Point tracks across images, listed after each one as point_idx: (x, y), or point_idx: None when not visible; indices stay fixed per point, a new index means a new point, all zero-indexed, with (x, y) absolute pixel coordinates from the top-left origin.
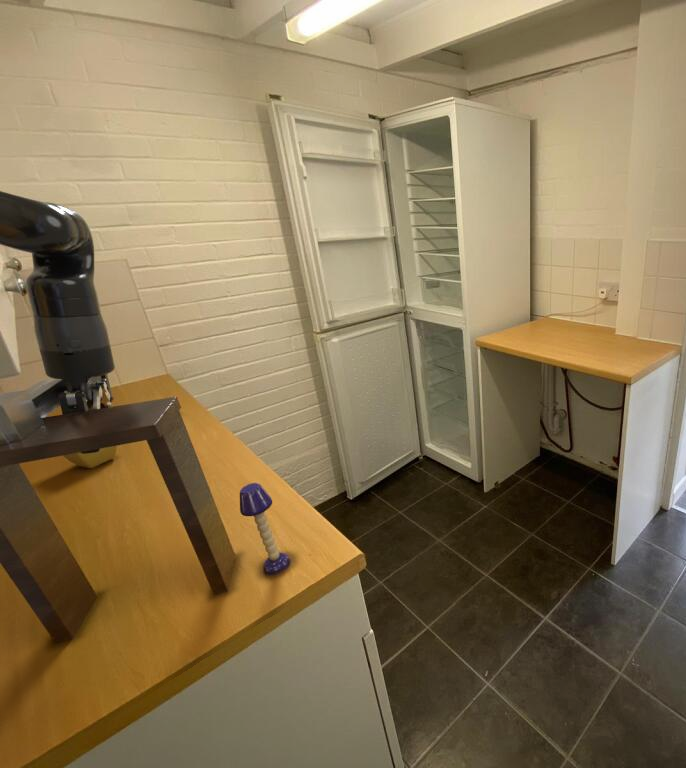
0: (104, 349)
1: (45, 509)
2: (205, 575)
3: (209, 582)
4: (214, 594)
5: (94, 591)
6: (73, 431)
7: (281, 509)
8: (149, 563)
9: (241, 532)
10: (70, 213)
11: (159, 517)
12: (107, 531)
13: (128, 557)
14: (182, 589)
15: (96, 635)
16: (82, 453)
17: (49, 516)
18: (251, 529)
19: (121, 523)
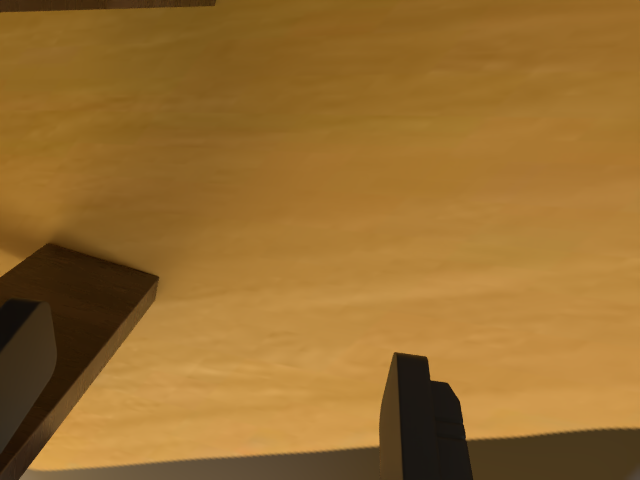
0: None
1: (48, 9)
2: (10, 270)
3: (23, 261)
4: (45, 245)
5: (209, 5)
6: None
7: (284, 419)
8: (274, 125)
9: (251, 327)
10: None
11: (514, 158)
12: (567, 11)
13: (348, 75)
14: (110, 188)
15: (60, 14)
16: (20, 298)
17: (70, 8)
18: (247, 348)
19: (583, 51)
